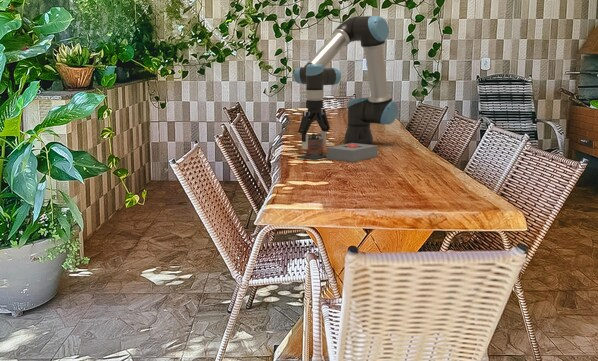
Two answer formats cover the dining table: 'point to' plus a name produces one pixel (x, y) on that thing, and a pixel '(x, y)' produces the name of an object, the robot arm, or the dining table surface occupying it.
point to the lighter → (315, 145)
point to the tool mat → (312, 157)
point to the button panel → (352, 152)
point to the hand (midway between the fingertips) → (314, 147)
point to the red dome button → (352, 145)
